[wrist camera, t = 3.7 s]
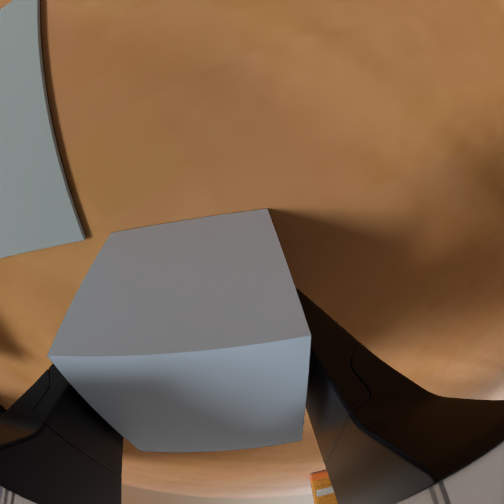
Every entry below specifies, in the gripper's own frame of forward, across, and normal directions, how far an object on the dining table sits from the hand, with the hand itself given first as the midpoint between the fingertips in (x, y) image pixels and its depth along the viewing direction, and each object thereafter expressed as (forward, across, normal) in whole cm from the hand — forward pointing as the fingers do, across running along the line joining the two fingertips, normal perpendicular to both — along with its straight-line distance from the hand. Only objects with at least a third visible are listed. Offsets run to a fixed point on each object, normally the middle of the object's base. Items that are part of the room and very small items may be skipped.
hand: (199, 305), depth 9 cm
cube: (+1, 0, 0) cm, 1 cm away
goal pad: (+1, +8, -7) cm, 11 cm away
